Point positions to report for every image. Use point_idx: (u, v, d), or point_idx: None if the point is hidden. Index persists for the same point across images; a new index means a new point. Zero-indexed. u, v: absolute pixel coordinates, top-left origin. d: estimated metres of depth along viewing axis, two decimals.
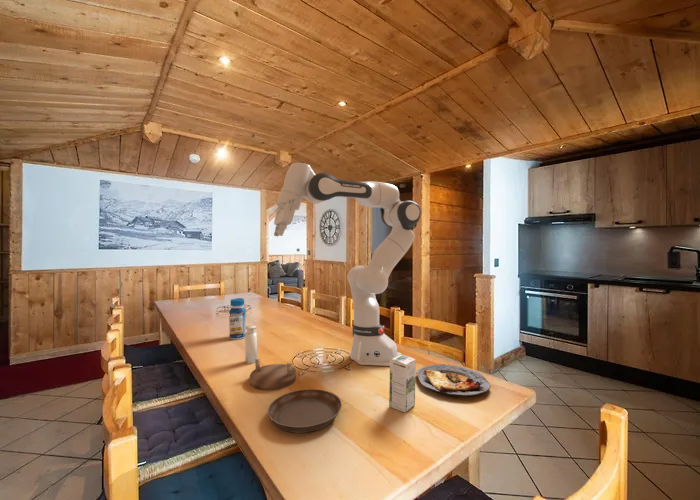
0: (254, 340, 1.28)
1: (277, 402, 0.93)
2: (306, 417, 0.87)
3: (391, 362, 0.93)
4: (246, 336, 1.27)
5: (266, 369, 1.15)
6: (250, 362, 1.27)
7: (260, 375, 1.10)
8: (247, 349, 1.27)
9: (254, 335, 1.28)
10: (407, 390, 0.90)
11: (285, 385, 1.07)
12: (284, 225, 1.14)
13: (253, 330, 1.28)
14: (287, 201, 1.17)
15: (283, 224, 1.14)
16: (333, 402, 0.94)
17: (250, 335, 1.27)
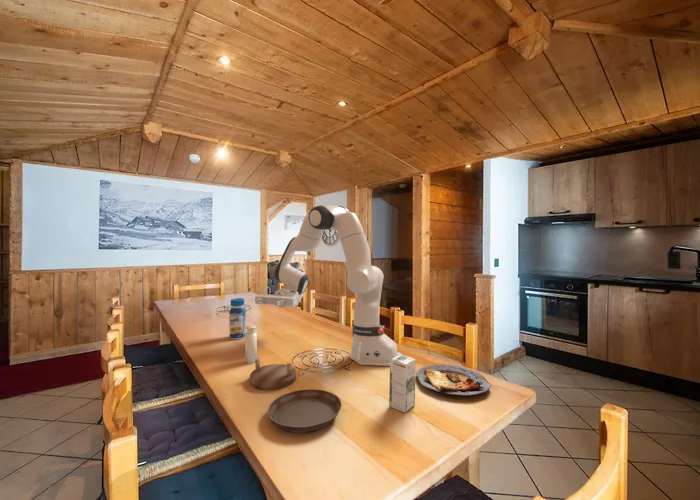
0: (254, 340, 1.28)
1: (277, 402, 0.93)
2: (306, 417, 0.87)
3: (391, 362, 0.93)
4: (246, 336, 1.27)
5: (266, 369, 1.15)
6: (250, 362, 1.27)
7: (260, 375, 1.10)
8: (247, 349, 1.27)
9: (254, 335, 1.28)
10: (407, 390, 0.90)
11: (285, 385, 1.07)
12: None
13: (253, 330, 1.28)
14: None
15: None
16: (333, 402, 0.94)
17: (250, 335, 1.27)
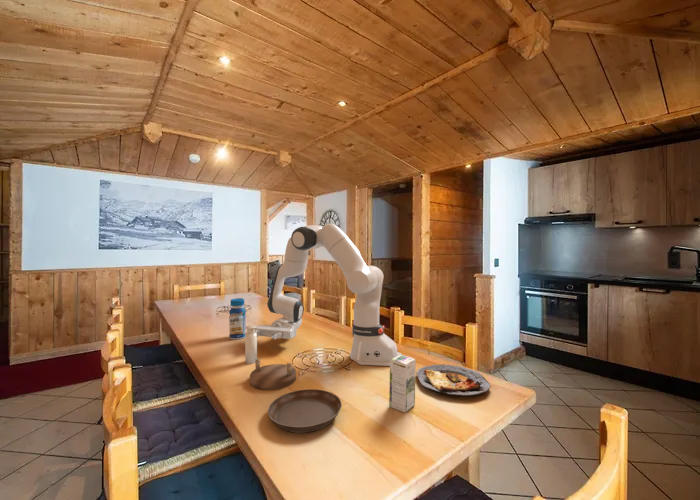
0: (254, 340, 1.28)
1: (277, 402, 0.93)
2: (306, 417, 0.87)
3: (391, 362, 0.93)
4: (246, 336, 1.27)
5: (266, 369, 1.15)
6: (250, 362, 1.27)
7: (260, 375, 1.10)
8: (247, 349, 1.27)
9: (254, 335, 1.28)
10: (407, 390, 0.90)
11: (285, 385, 1.07)
12: None
13: (253, 330, 1.28)
14: None
15: None
16: (333, 402, 0.94)
17: (250, 335, 1.27)
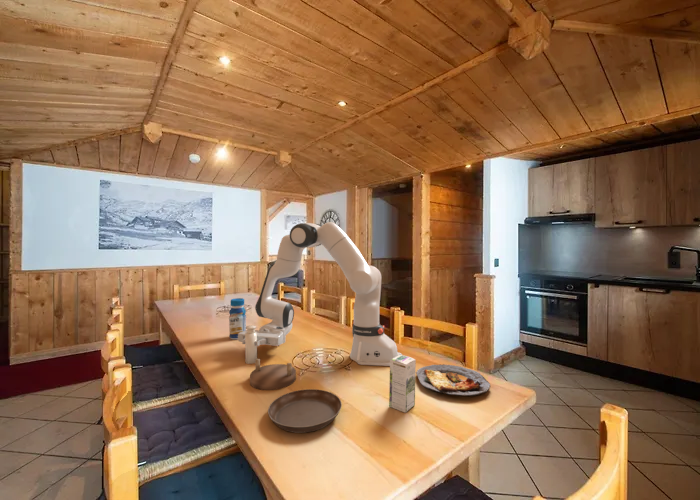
0: (254, 340, 1.28)
1: (277, 402, 0.93)
2: (306, 417, 0.87)
3: (391, 362, 0.93)
4: (246, 336, 1.27)
5: (266, 369, 1.15)
6: (250, 362, 1.27)
7: (260, 375, 1.10)
8: (247, 349, 1.27)
9: (254, 335, 1.28)
10: (407, 390, 0.90)
11: (285, 385, 1.07)
12: None
13: (253, 330, 1.28)
14: None
15: None
16: (333, 402, 0.94)
17: (250, 335, 1.27)
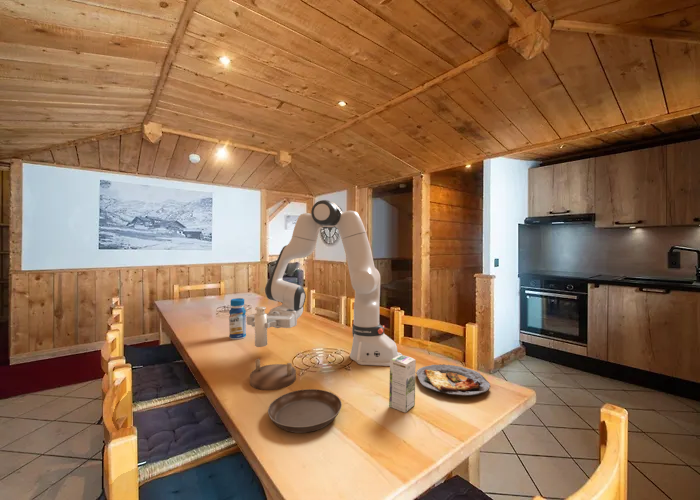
0: (264, 322, 1.20)
1: (277, 402, 0.93)
2: (306, 417, 0.87)
3: (391, 362, 0.93)
4: (255, 317, 1.20)
5: (266, 369, 1.15)
6: (260, 345, 1.19)
7: (260, 375, 1.10)
8: (257, 331, 1.20)
9: (264, 316, 1.20)
10: (407, 390, 0.90)
11: (285, 385, 1.07)
12: None
13: (263, 311, 1.21)
14: None
15: None
16: (333, 402, 0.94)
17: (260, 316, 1.19)
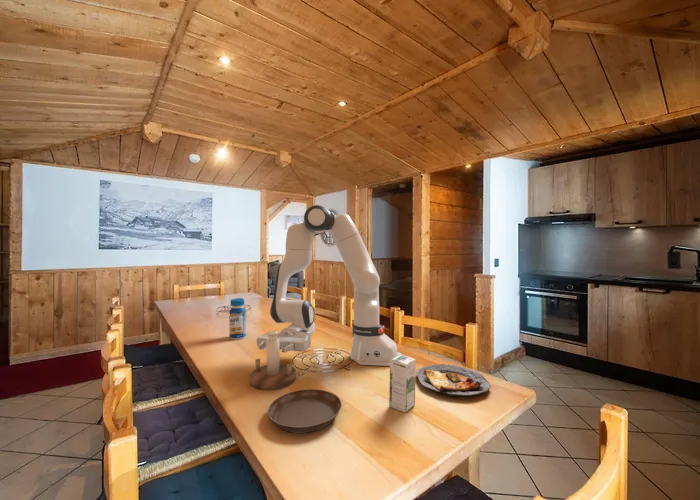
0: (277, 348, 1.11)
1: (277, 402, 0.93)
2: (306, 417, 0.87)
3: (391, 362, 0.93)
4: (268, 343, 1.10)
5: (266, 369, 1.15)
6: (272, 373, 1.10)
7: (260, 375, 1.10)
8: (269, 358, 1.10)
9: (277, 342, 1.11)
10: (407, 390, 0.90)
11: (285, 385, 1.07)
12: None
13: (275, 336, 1.11)
14: None
15: None
16: (333, 402, 0.94)
17: (272, 342, 1.10)
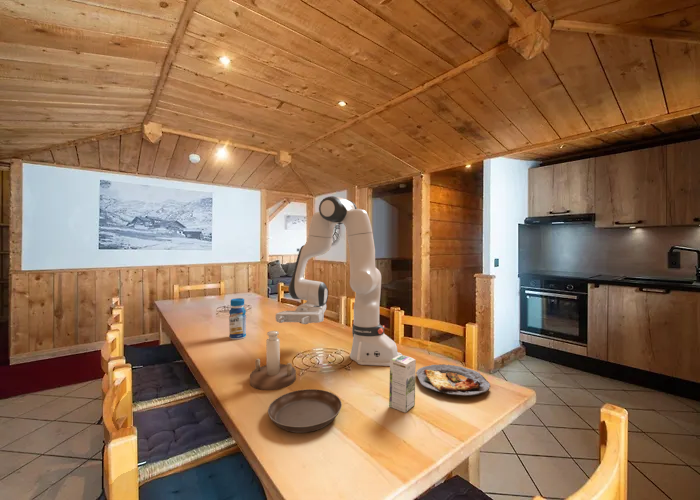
0: (277, 348, 1.11)
1: (277, 402, 0.93)
2: (306, 417, 0.87)
3: (391, 362, 0.93)
4: (268, 343, 1.10)
5: (266, 369, 1.15)
6: (272, 373, 1.10)
7: (260, 375, 1.10)
8: (269, 358, 1.10)
9: (277, 342, 1.11)
10: (407, 391, 0.90)
11: (285, 385, 1.07)
12: None
13: (276, 336, 1.11)
14: None
15: None
16: (333, 402, 0.94)
17: (272, 342, 1.10)
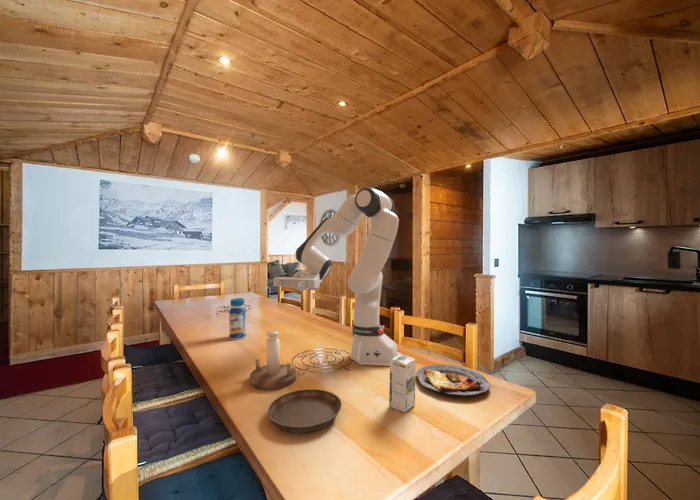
0: (277, 348, 1.11)
1: (277, 402, 0.93)
2: (306, 417, 0.87)
3: (391, 362, 0.93)
4: (268, 343, 1.10)
5: (266, 369, 1.15)
6: (272, 373, 1.10)
7: (260, 375, 1.10)
8: (269, 358, 1.10)
9: (277, 342, 1.11)
10: (407, 390, 0.90)
11: (285, 385, 1.07)
12: None
13: (276, 336, 1.11)
14: None
15: None
16: (333, 402, 0.94)
17: (272, 342, 1.10)
